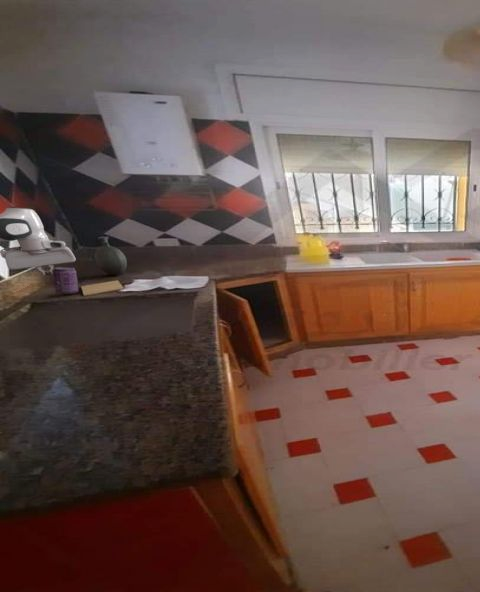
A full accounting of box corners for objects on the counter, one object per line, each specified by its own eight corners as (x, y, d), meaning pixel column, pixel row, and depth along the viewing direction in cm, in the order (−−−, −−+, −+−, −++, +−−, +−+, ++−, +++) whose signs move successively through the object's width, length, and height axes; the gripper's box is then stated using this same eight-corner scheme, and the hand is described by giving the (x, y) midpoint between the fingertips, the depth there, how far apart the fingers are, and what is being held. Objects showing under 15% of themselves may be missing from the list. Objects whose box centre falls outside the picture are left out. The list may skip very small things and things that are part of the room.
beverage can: (66, 291, 152) (63, 266, 150) (82, 292, 153) (80, 268, 151) (51, 294, 146) (47, 268, 143) (68, 295, 147) (65, 269, 144)
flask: (106, 279, 173) (91, 239, 165) (99, 274, 182) (84, 236, 175) (133, 275, 182) (120, 236, 174) (125, 270, 191) (113, 234, 184)
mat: (84, 295, 148) (83, 294, 147) (81, 287, 160) (80, 286, 160) (123, 288, 157) (123, 287, 157) (118, 281, 170) (117, 280, 170)
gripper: (-3, 249, 130) (12, 281, 135) (69, 242, 144) (80, 271, 149) (-2, 247, 134) (13, 278, 139) (68, 241, 148) (79, 269, 153)
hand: (48, 274), depth 144 cm, fingers closed
